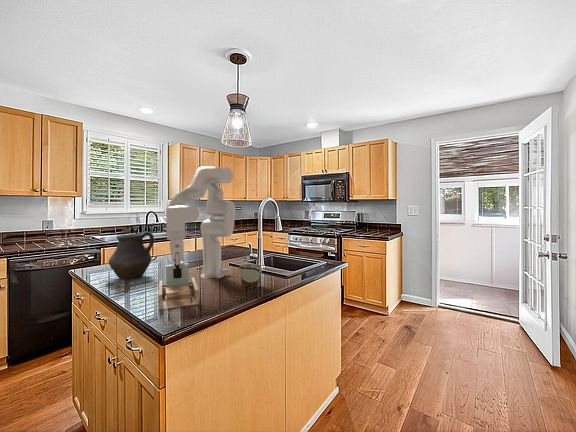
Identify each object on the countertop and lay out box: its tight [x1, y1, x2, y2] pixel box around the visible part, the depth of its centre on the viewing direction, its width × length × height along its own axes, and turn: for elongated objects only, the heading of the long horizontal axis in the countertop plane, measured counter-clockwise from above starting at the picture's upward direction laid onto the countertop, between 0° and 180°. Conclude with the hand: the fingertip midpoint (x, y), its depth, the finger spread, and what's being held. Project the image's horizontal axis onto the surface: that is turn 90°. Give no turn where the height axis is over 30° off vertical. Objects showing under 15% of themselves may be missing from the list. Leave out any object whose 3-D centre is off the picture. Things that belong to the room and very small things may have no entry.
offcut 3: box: [165, 296, 191, 306], centre depth 114 cm, size 9×7×2 cm
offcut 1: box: [165, 285, 191, 297], centre depth 114 cm, size 9×7×2 cm
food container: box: [238, 263, 263, 288], centre depth 140 cm, size 12×6×10 cm, turn 65°
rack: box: [157, 276, 200, 310], centre depth 117 cm, size 14×20×7 cm
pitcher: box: [108, 230, 155, 280], centre depth 153 cm, size 21×22×25 cm
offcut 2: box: [167, 289, 191, 301], centre depth 115 cm, size 9×7×2 cm
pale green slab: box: [165, 262, 190, 287], centre depth 123 cm, size 9×3×12 cm, turn 114°
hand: (177, 276), depth 123 cm, fingers closed on pale green slab, 2 cm apart
